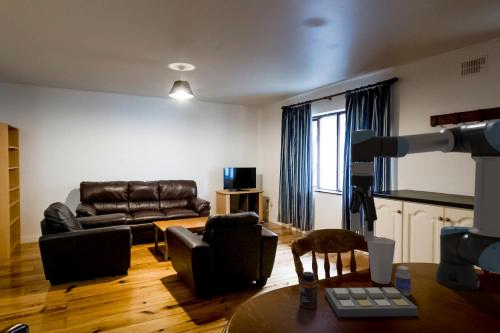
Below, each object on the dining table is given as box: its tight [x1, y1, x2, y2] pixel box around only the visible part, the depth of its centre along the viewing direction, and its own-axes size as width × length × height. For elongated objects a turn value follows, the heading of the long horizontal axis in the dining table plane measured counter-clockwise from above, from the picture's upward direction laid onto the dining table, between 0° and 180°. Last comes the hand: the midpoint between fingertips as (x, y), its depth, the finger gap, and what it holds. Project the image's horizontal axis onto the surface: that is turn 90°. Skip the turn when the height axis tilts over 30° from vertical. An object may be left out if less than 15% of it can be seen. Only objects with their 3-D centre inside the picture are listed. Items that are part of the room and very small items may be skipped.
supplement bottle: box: [299, 271, 318, 310], centre depth 107 cm, size 6×6×11 cm
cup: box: [366, 236, 396, 285], centre depth 129 cm, size 11×10×17 cm
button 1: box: [381, 286, 400, 298], centre depth 110 cm, size 4×4×2 cm
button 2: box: [365, 287, 383, 298], centre depth 109 cm, size 4×4×2 cm
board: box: [324, 286, 419, 318], centre depth 107 cm, size 26×16×3 cm, turn 91°
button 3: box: [348, 287, 366, 298], centre depth 109 cm, size 4×4×2 cm
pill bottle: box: [394, 265, 412, 297], centre depth 117 cm, size 5×5×10 cm
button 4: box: [333, 287, 349, 299], centre depth 109 cm, size 4×4×2 cm
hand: (361, 235), depth 107 cm, fingers open, 13 cm apart
